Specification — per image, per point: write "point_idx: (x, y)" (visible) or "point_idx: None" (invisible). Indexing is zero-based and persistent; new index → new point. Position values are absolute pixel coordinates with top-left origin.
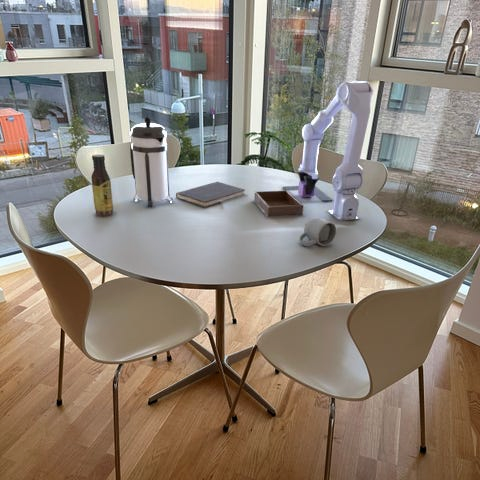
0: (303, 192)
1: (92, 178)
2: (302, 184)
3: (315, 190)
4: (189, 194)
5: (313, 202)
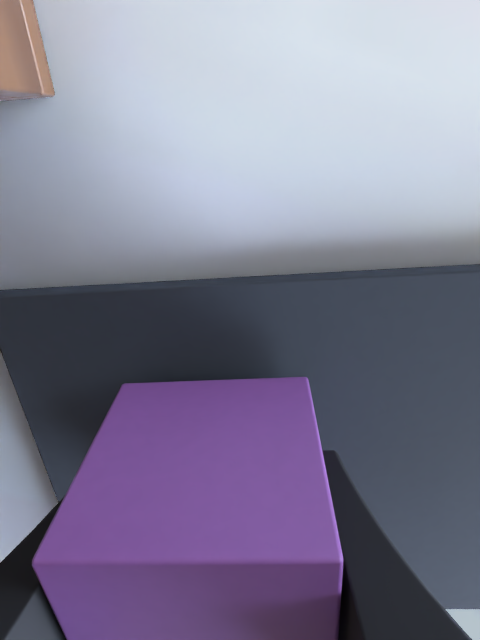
0: (99, 439)
1: None
2: (107, 545)
3: (424, 578)
4: None
5: (37, 451)
